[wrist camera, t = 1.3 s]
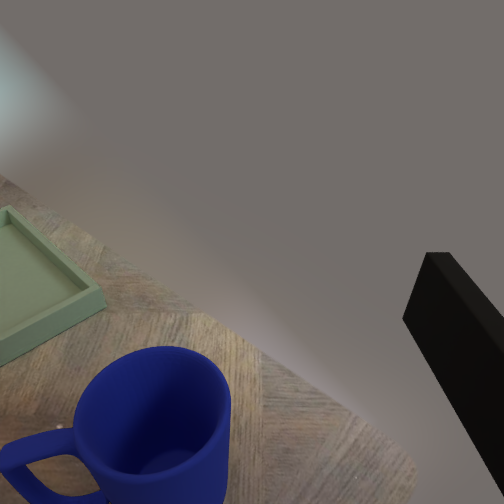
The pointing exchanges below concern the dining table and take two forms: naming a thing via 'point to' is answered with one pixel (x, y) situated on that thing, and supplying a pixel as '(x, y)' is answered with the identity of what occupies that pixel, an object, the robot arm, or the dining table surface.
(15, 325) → the tray
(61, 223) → the dining table surface
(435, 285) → the robot arm
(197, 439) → the mug
